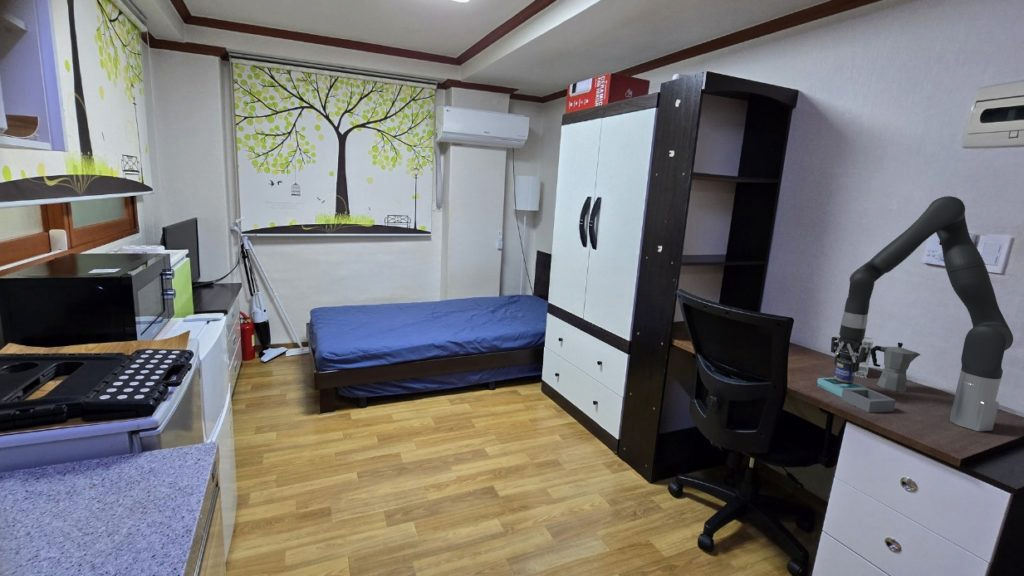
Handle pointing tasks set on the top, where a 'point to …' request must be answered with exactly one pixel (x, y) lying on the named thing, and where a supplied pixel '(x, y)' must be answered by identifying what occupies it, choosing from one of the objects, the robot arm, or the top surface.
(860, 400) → the holder
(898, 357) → the coffeepot
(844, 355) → the pill bottle
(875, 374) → the top surface
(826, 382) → the tray
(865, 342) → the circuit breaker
